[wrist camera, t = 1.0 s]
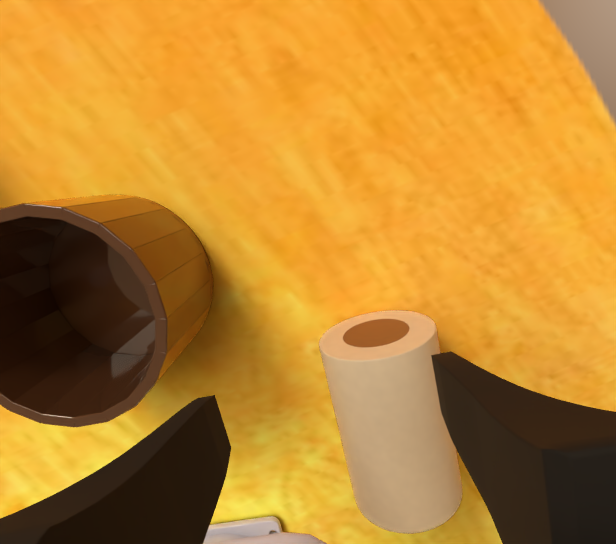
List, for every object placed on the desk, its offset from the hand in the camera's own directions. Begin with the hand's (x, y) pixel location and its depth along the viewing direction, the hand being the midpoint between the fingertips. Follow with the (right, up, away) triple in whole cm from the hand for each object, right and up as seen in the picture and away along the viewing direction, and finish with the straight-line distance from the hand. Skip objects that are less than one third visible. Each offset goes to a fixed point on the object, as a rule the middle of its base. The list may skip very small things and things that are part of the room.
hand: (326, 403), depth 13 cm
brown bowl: (-10, +4, +9) cm, 15 cm away
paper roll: (+4, -3, +7) cm, 9 cm away
